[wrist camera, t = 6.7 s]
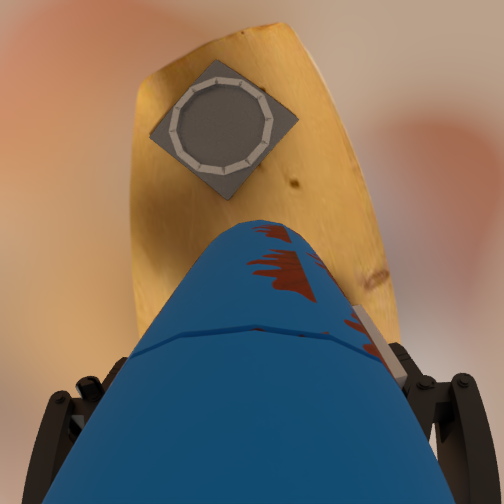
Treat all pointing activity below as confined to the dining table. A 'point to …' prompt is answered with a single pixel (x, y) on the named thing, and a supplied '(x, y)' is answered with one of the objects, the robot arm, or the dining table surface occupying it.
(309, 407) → the thermos
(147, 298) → the dining table surface
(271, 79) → the dining table surface
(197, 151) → the collar dock
